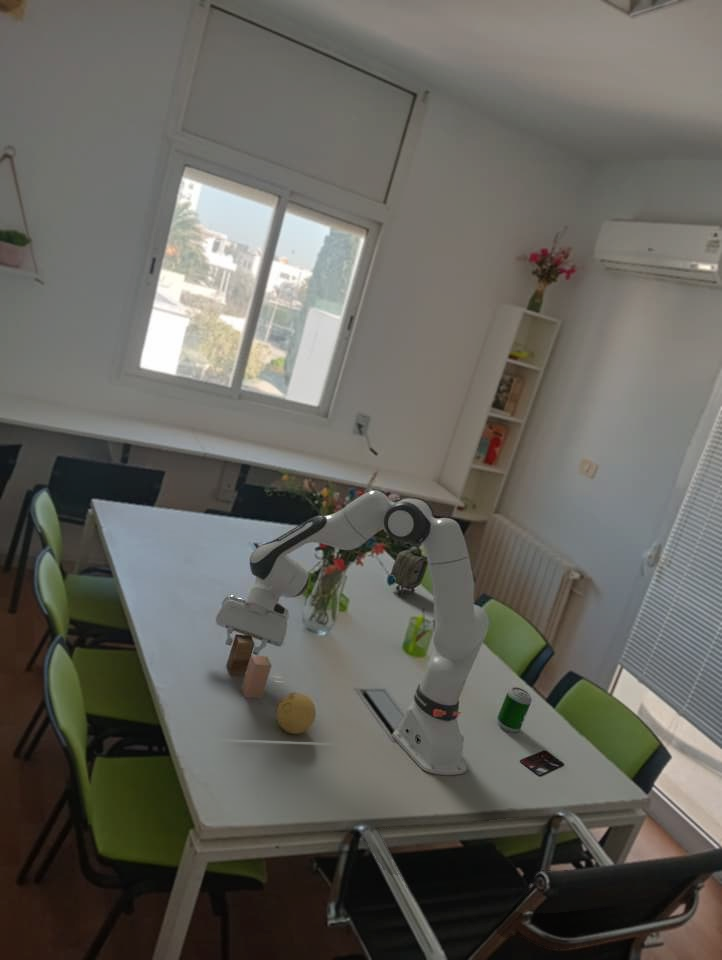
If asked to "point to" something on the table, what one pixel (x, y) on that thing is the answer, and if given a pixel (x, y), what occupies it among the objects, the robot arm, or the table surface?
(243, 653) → the walnut pillar
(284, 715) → the stress ball
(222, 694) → the table surface
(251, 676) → the terracotta pillar
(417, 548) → the rolling backpack
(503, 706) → the soda can
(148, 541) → the table surface
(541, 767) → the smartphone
